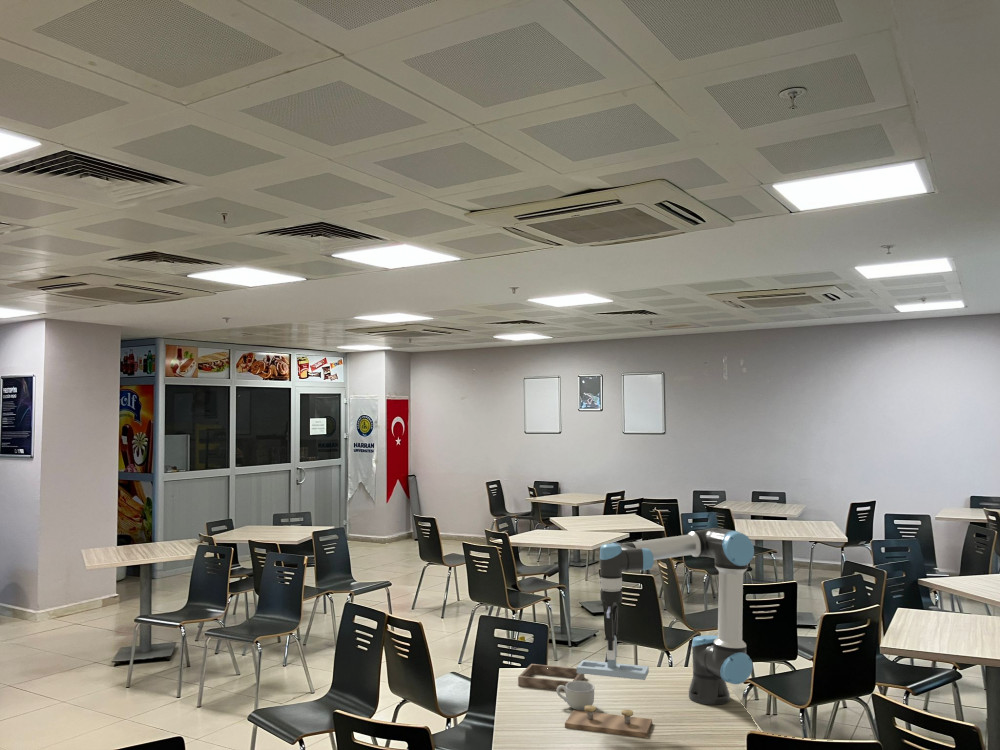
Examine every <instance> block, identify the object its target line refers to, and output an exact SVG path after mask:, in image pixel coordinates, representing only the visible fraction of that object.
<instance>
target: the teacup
mask: <svg viewBox="0 0 1000 750" xmlns="http://www.w3.org/2000/svg"><path fill="white" fill-rule="evenodd" d="M560 688H563V689H564V691H563V692H564V693H565V696H564V695H563V694H561V692H560V690H559V689H560ZM556 694H557V695H558V697H559V698H561V699H563V701H564V702H565V703H567V705H568V706H569V707H570V708H571V709H573V710H578V711H585V710H584V707H585V706H587V705H592V706H593V705H594V703H595V702H594V701H595V685H594V684H593V683H591V682H589V681H585V680H582V681H573V680H572V681H571V682H569V683H567V684H566V687H565V686H563V685H560V686H558V687H557V690H556Z"/></svg>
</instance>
